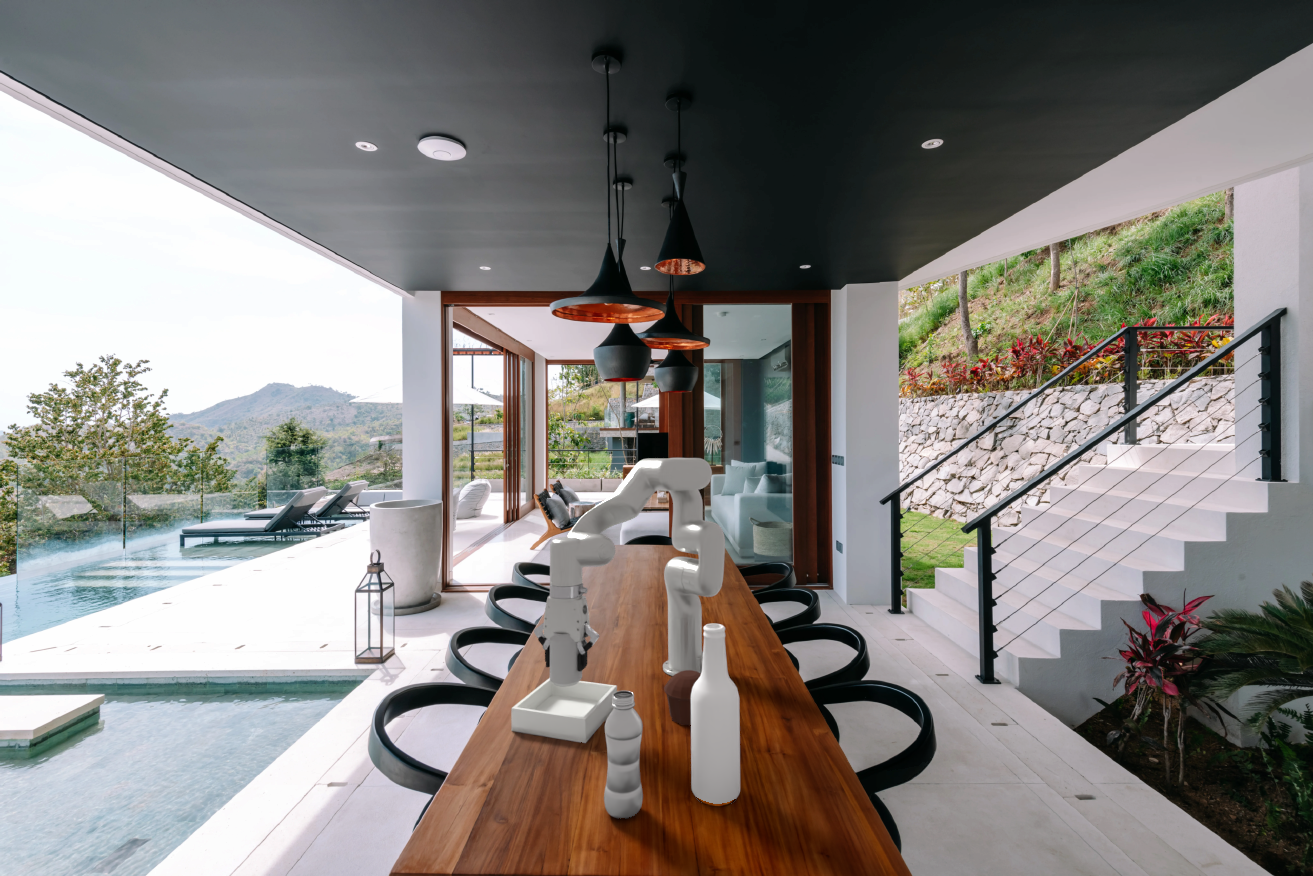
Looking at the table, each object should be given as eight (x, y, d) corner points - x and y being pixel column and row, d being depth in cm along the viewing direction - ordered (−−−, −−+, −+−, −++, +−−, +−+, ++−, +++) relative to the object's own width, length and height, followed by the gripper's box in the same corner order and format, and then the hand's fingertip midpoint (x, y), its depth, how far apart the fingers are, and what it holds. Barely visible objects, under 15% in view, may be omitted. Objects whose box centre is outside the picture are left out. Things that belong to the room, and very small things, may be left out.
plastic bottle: (604, 801, 100) (603, 687, 100) (642, 799, 100) (641, 686, 101) (603, 826, 93) (603, 704, 94) (644, 823, 94) (643, 702, 94)
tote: (616, 706, 137) (616, 685, 137) (585, 743, 120) (585, 719, 120) (550, 697, 142) (550, 677, 143) (511, 731, 125) (511, 708, 125)
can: (575, 689, 127) (575, 635, 127) (544, 686, 128) (544, 633, 129) (586, 676, 134) (586, 625, 134) (556, 674, 136) (556, 623, 136)
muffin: (688, 701, 140) (688, 660, 140) (723, 716, 132) (722, 672, 132) (653, 717, 131) (653, 674, 132) (689, 734, 123) (688, 688, 124)
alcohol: (705, 813, 96) (704, 636, 97) (683, 785, 104) (681, 622, 105) (749, 800, 100) (748, 630, 100) (724, 774, 108) (723, 616, 109)
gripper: (606, 590, 133) (606, 665, 132) (541, 584, 138) (540, 657, 137) (593, 597, 126) (593, 678, 125) (524, 592, 131) (524, 669, 130)
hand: (566, 666), depth 131 cm, fingers closed on can, 7 cm apart
